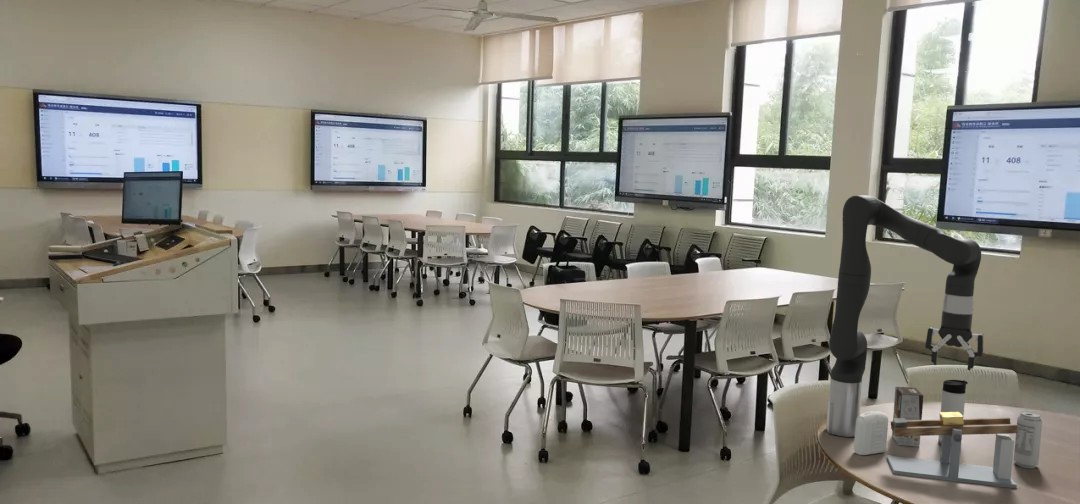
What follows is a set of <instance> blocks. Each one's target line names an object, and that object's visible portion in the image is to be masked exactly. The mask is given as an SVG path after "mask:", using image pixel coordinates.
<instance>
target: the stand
mask: <svg viewBox="0 0 1080 504" xmlns="http://www.w3.org/2000/svg"><path fill="white" fill-rule="evenodd" d="M962 437H963V435H962V430H961V429H955V428H952V436H951V435H942V445H941V447H940V448H941V449H940V460H935V459H934V460H933V459H932V460H931V459H924V458H923V459H922V458H916V457H915V458H914V457H907V456H898V455H897V456H896V455H895V456H894V455H889V454H888V455H886V460H887V462H888V465H889V467H890V469H891V471H892V473H894V474H893V475H898V474H900V476H907V475H909V476H908V477H916V478H926V479H934V480H942V481H950V482H960V483H968V484H976V485H983V486H984V485H985V486H986V485H987V486H992V487H993V486H994V487H1001V488H1010V489H1018V488H1017V487H1018V484H1017V483H1016V482H1015V480H1013V478H1012V468H1013V461H1014V450H1015V440H1014V439H1013V438H1012V436H1010V434H995V441H994V455H993V462H992V463H993V465H992V466H987V465H978V464H969V463H960V461H961V450H962V449H961V448H962V439H963V438H962ZM951 438H952V440H951Z"/></svg>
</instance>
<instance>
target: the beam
mask: <svg viewBox="0 0 1080 504" xmlns="http://www.w3.org/2000/svg"><path fill="white" fill-rule="evenodd" d="M963 420H964V426H941V425H940V418H939V419H922V420H905V418H892V420H890V429H891V431H893V433H894V435H895V436H920V437H922V436H924V437H925V436H927V437H928V436H939V435H951V436H952V428H955V429H961V430H962V436H963V435H964V436H967V435H968V436H969V435H996V434H1007V435H1010V434H1016V433H1018V431H1017V423H1011V418H1010V417H1007V416H1006V417H976V418H975V417H974V418H963Z"/></svg>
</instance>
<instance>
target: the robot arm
mask: <svg viewBox="0 0 1080 504" xmlns="http://www.w3.org/2000/svg"><path fill="white" fill-rule="evenodd" d="M842 208H843V209H842V243H841V250H840V251H841V252H840V262H839V263H840V264H839V269H838V277H837V288H836V289H837V291H836V299H835V309H834V319H833V323H832V327H831V332H830V337H829V341H828V346H829V350H830V353H831V354H832V357H834V358H835V359H836V360H835V363H834V365H833V367H832V368H831V370H830V380H829V381H830V383H829V393H828V394H829V398H828V400H827V414H826V415H827V416H826V431H827V434H830V435H835V436H838V437H845V438H853V437H854V438H855V428H856V419H857V417H858V416H859V415H861V414H860V413H861V401H862V400H861V399H862V398H861V397H862V383H863V376H864V374H865V371H866V364H867V356H868V341H867V337H866V335H865V333H863V332H862V331H861V330H860V329H858V327H859V318H860V315H861V312H862V310H863V308H864V305H865V303H866V300H867V297H868V295H869V291H870V286H871V278H872V277H871V276H872V264H871V261H870V257H869V254H868V253H869V252H868V251H867V243H866V241H867V231H868V227H869V226H875V227H878V228H879V227H880V228H883V229H885V230H888V231H890V232H892V233H894V234H896V235H897V236H899V237H900V238H901V239H903V240H904V241H906V242H908V243H910V244H912V245H914V246H916V247H918V248H920V249H923V250H925V251H927V252H930V253H932V254H933V255H935V256H936V257H938V258H940V259H941V260H943V261H945V262H947V263H949V264H952V271H951V272H950V273H949V274H947V277H946V280H945V290H944V297H943V300H942V310H941V320H940V321H941V322H940V327H939V328H934V327H933V326H930V327H929V328H927V335H926V338H925V349H926V350H927V349H928V350H929V351H931V359H930V360H931V363H933V365H934V366H937V364H938V359H939V351H938V350H939V349H941V347H943V346H944V345H946V346H949V347H956V348H961V347H962V348H963V349H964V351H965V352H966V353H968V355H969V356H968V360H967V361H968V362H967V371H971V370H972V369H974V366H975V358H976V357H982V356H983V354H984V334H983V333H973V332H972V324H973V323H972V322H973V314H974V294H975V293H974V292H975V279H976V277H977V274H978V270H979V269H980V264H981V260H982V250H981V247H980V245H979V243H978V242H977V241H976V240H974V239H973V240H972V239H971V238H970V239H967V238H966V239H958V238H956V237H953V236H951V235H948V234H947V232H946V231H944V230H943V229H941V228H939V227H937V226H934V225H931V224H930V223H926V222H924V221H921V220H919V219H917V218H914V217H912V216H909V215H907V214H904V213H903V212H900V211H899V210H897V209H895V208H893V207H892V206H890V205H888V204H887V203H885V202H883V201H882V200H880V199H878V198H877V197H875V196H873V195H869V194H867V195H866V194H863V195H862V194H859V195H858V194H856V195H852V196H850V197H849V198H847V200H846V201H845V202H844V204H843V207H842ZM937 334H938V336H939V337H940V338H941V339H940V341H938V342H937V343H936V344H934V345H933V344H932V342H933V337H935V336H936V335H937ZM972 338H973V339H974V341H975V342H976V343H977V351H975V350H974V349H973V348H972V346H971V344H970V343H969V341H970V340H972Z"/></svg>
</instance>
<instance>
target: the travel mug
mask: <svg viewBox="0 0 1080 504" xmlns="http://www.w3.org/2000/svg"><path fill="white" fill-rule="evenodd" d="M942 383H943V384H942V389H941V402H940V412H960V413H961V415H962V416H963V418H964V415H965V403H966V394H967V393H966V389H967V385H968V381H967V380H965V379H964V380H961V379H947V380H944V381H943V382H942ZM951 440H952V438H951ZM938 444H940V445H941V444H942V435H938Z"/></svg>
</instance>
